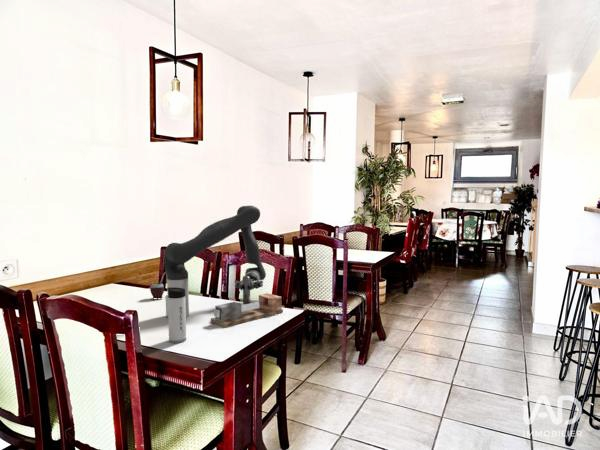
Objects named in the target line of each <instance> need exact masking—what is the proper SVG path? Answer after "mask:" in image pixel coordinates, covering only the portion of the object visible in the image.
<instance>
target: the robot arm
mask: <svg viewBox="0 0 600 450" xmlns="http://www.w3.org/2000/svg"><path fill="white" fill-rule="evenodd" d="M260 217H261V210H260V209H259V208H258V207H257V206H255V205H241V206H239V207H238V209H237V212H236V215H234V216H231V217H228V218H224V219H221V220H217V221H214V222H213V223H211V224H210V225H208V226H206V227H205V228H203V229H202V230H201V232H199V233H198V234H197V235H196V236H195V237H194V238H191V239H190V240H186V241H184V242H181V243H180V242H171V243H169V244H168V245H167V246H166V247H165V250H164V255H163V257H164V270H165V272H166V273H165V275H166V282H167V283H166V285H167V286H166V291H167V293H166V295H165V317H167V318H168V290H167V288H168V287H170V288H173V287H177V288H183V289H185V296H186V297H185V298H186V317H188V316H189V315H190V309H189V308H190V302H189V301H190V300H189V295H190V294H189V293H190V292H189V272H188V270H187V269H186V266H185V263H187V262H189V261H190V260H192V259H194V257H196V256H197V255H198V254H200V253H201V252H203V251H205V250H208V249H209V248H210V247H212V246H215V245H216V244H218V243H220V242H221V241H223V240H225V239H226V238H229V237H230V236H232V235H233V234H235V233H237V232H238V231H240V232H241V236H242V239H243V243H244V248H245V249H244V250H245V258H246V262H247V264H250V265H255V266H254V267H249V268H246V270H245V273H244V276H250V285H249V290H250V291H252V290H254V289H255V290H256V289H259V288H262V287H264V280H265V278H266V277H267V273H266V269H265V268H264V265H263V263H262V260H261V255H260V247H259V244H258V241H257V239H256V237H255V235H254V233H253V229H252V225H253V224H255V223H257V222H258V221H259V219H260ZM233 282H234V283H233V284H234V287H235V288H236V289H237V290H238V289H239V290H240V291H243V278H242V279H241V280H240V281H239V280H234V281H233Z"/></svg>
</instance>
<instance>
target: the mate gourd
mask: <svg viewBox="0 0 600 450" xmlns="http://www.w3.org/2000/svg"><path fill="white" fill-rule="evenodd" d="M165 275H166V271H165V272H163V274H162V276H161V280H160V282H157V283H156V282H154V283H152V284H151V285H150V287H149V288H150V289H149V291H150V294H151V296H152V299H153V298H163V295H164V293H165V287H164V286H165V285H164V284H163V282H162V281H163V279H164V276H165Z"/></svg>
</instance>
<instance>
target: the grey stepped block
mask: <svg viewBox="0 0 600 450" xmlns="http://www.w3.org/2000/svg"><path fill="white" fill-rule="evenodd" d="M242 279H243V290H242V303H241V302H240V304H241V312H244V311H248V310H252V309H257V308H259V300H255V299H254V300H251V290H249V285H250V276H245V275H244V276H242ZM213 317H214V318H215V317H221V309H219V308H217V309H215V308H214V309H213Z"/></svg>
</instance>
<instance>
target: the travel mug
mask: <svg viewBox="0 0 600 450" xmlns="http://www.w3.org/2000/svg"><path fill="white" fill-rule="evenodd" d="M167 290H168V317H167V318H168V341H169V343H171V344H181V343H184V342H185V341H186V340H187V316H186V298H185V297H186V296H185V289H183V288H177V287H173V288H170V287H168V288H167V287H166V291H167Z"/></svg>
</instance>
